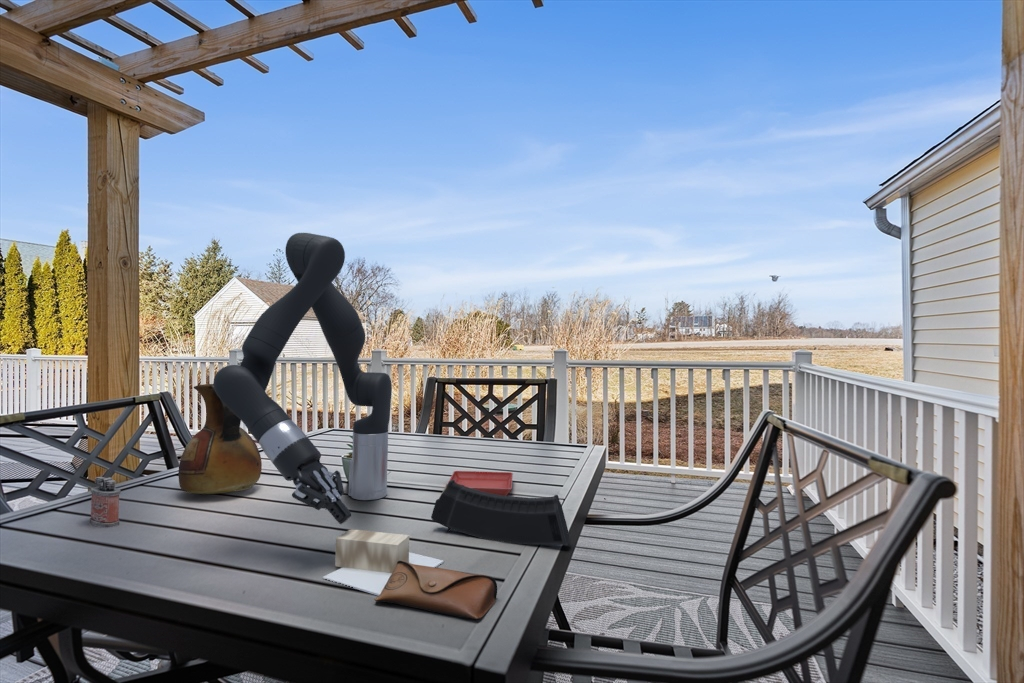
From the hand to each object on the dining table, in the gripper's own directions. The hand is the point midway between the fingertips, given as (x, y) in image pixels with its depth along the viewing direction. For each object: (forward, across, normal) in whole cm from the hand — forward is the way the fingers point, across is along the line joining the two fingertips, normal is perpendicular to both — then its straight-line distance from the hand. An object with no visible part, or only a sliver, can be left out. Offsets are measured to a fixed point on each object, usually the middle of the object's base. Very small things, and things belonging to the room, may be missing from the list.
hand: (346, 519), depth 95 cm
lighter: (-38, +5, +49) cm, 62 cm away
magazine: (+23, +20, -11) cm, 32 cm away
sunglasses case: (+21, -10, -10) cm, 25 cm away
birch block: (+3, 0, +4) cm, 5 cm away
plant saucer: (+13, +57, -1) cm, 58 cm away
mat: (+12, -1, 0) cm, 12 cm away
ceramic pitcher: (-34, +33, +46) cm, 66 cm away
